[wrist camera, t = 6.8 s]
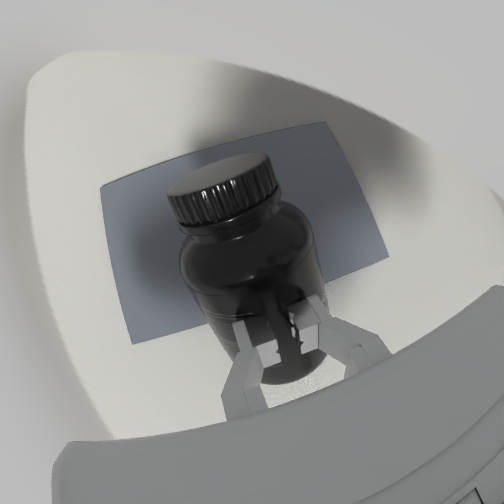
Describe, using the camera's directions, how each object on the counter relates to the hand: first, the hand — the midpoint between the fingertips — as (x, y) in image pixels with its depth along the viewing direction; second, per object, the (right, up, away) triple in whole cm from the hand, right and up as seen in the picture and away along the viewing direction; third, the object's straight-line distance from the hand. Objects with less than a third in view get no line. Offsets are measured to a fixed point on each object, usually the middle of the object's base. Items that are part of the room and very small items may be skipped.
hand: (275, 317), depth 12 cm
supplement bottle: (+1, -3, +6) cm, 7 cm away
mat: (-2, +6, +10) cm, 11 cm away
